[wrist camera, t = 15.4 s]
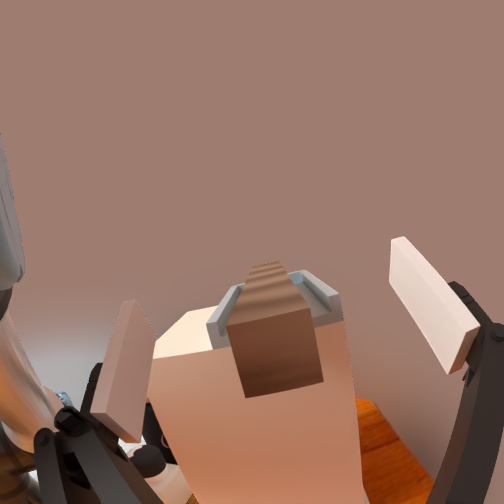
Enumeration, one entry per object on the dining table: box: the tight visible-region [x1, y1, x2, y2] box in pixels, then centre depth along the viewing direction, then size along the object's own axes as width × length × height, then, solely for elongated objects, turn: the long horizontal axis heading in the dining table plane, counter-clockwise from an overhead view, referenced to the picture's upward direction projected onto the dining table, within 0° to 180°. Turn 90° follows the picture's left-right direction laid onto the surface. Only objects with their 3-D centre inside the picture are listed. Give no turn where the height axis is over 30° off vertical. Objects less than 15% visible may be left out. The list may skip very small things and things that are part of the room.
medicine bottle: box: [126, 445, 193, 504], centre depth 37 cm, size 7×7×12 cm
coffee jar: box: [142, 395, 178, 465], centre depth 49 cm, size 11×11×18 cm
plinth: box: [147, 306, 370, 504], centre depth 38 cm, size 24×22×30 cm
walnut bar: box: [226, 261, 324, 398], centre depth 30 cm, size 32×4×4 cm, turn 177°
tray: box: [206, 269, 344, 350], centre depth 38 cm, size 23×12×2 cm, turn 178°
